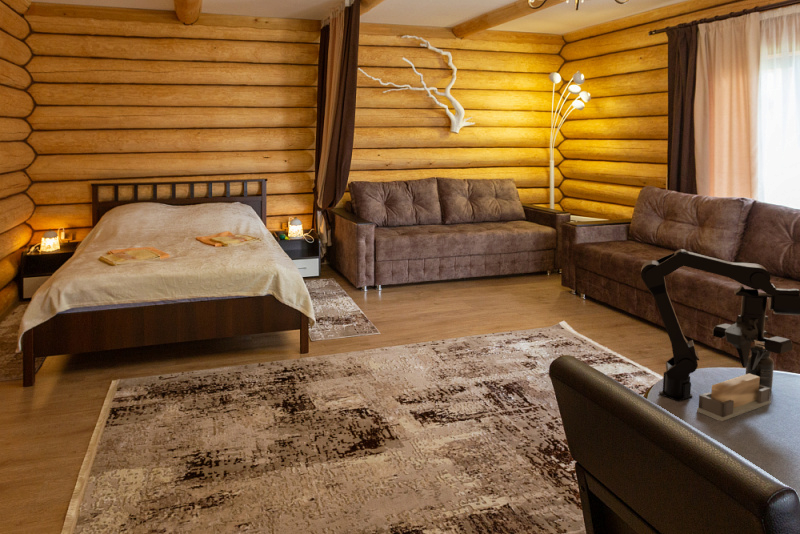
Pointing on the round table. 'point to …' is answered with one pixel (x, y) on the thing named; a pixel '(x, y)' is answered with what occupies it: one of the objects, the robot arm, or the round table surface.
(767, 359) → the supplement bottle
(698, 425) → the round table surface
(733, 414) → the slat rail
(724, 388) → the slat
